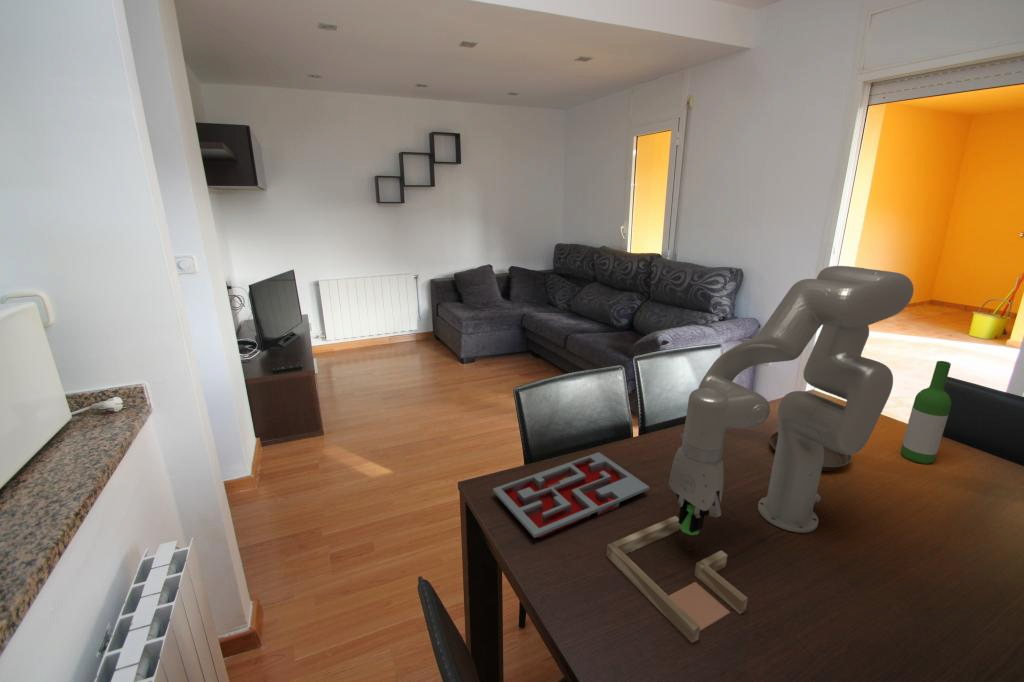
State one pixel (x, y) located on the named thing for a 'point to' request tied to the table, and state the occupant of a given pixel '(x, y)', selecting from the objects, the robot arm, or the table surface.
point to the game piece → (688, 521)
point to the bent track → (690, 603)
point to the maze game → (568, 493)
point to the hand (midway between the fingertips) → (690, 525)
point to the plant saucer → (831, 457)
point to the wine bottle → (928, 418)
